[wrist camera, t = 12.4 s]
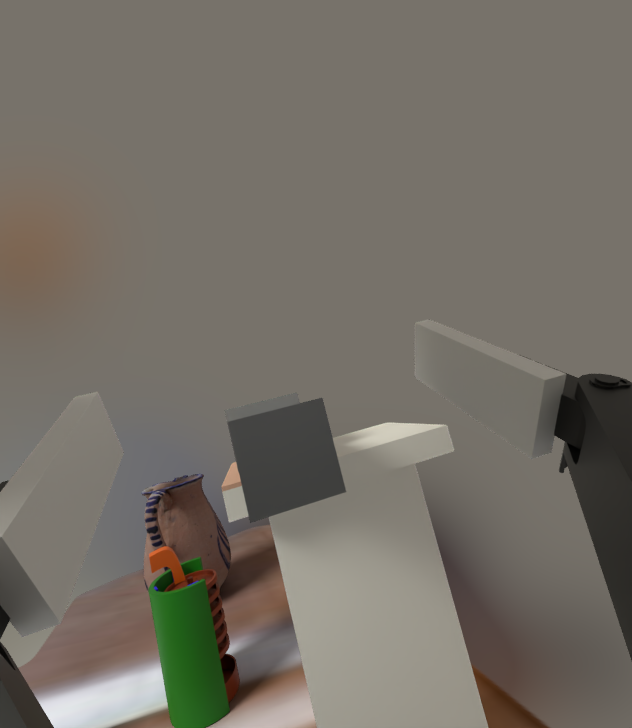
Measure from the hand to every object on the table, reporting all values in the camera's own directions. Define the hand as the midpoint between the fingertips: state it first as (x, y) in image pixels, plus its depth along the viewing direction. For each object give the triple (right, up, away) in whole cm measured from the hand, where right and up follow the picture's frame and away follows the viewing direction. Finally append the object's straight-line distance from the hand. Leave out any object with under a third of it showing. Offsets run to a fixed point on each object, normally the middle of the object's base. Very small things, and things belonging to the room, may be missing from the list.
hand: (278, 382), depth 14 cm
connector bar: (-1, -7, +10) cm, 12 cm away
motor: (-13, -44, +31) cm, 55 cm away
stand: (+10, -36, +13) cm, 39 cm away
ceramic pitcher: (-24, -49, +57) cm, 79 cm away
